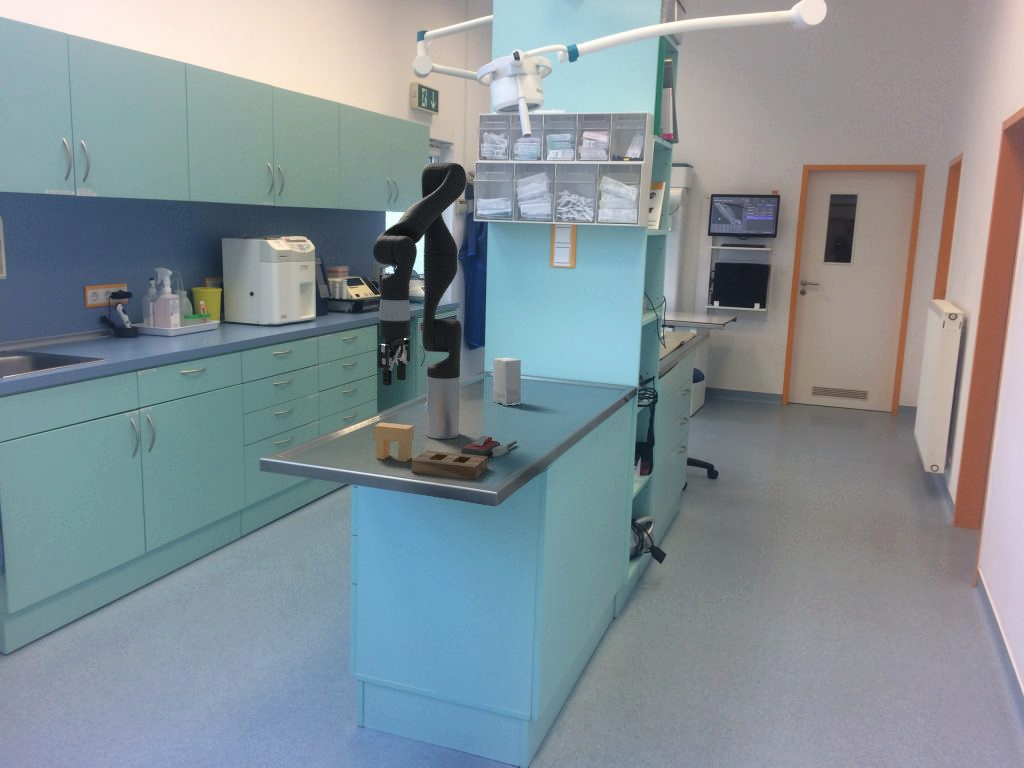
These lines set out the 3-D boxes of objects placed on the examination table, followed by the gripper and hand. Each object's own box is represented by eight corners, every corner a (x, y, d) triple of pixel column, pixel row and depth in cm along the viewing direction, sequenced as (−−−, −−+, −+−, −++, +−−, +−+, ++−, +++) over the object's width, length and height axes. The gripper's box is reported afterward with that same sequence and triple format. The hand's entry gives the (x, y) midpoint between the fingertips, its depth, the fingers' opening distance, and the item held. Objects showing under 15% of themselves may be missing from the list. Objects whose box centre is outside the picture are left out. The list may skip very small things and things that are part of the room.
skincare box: (521, 405, 277) (522, 359, 274) (504, 406, 273) (506, 361, 270) (507, 400, 284) (508, 356, 281) (491, 402, 280) (492, 357, 277)
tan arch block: (381, 454, 210) (381, 422, 208) (413, 458, 207) (413, 425, 206) (374, 458, 206) (374, 425, 204) (407, 462, 203) (407, 429, 202)
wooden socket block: (426, 461, 204) (427, 450, 204) (487, 468, 200) (487, 456, 199) (411, 472, 195) (411, 460, 194) (474, 479, 190) (474, 467, 190)
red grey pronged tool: (487, 464, 204) (519, 447, 222) (488, 447, 204) (520, 431, 222) (456, 460, 208) (490, 443, 226) (457, 443, 207) (491, 427, 225)
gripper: (397, 321, 192) (396, 388, 195) (419, 316, 206) (419, 379, 209) (368, 319, 194) (368, 386, 197) (392, 314, 208) (392, 377, 211)
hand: (394, 382), depth 203 cm, fingers open, 8 cm apart
